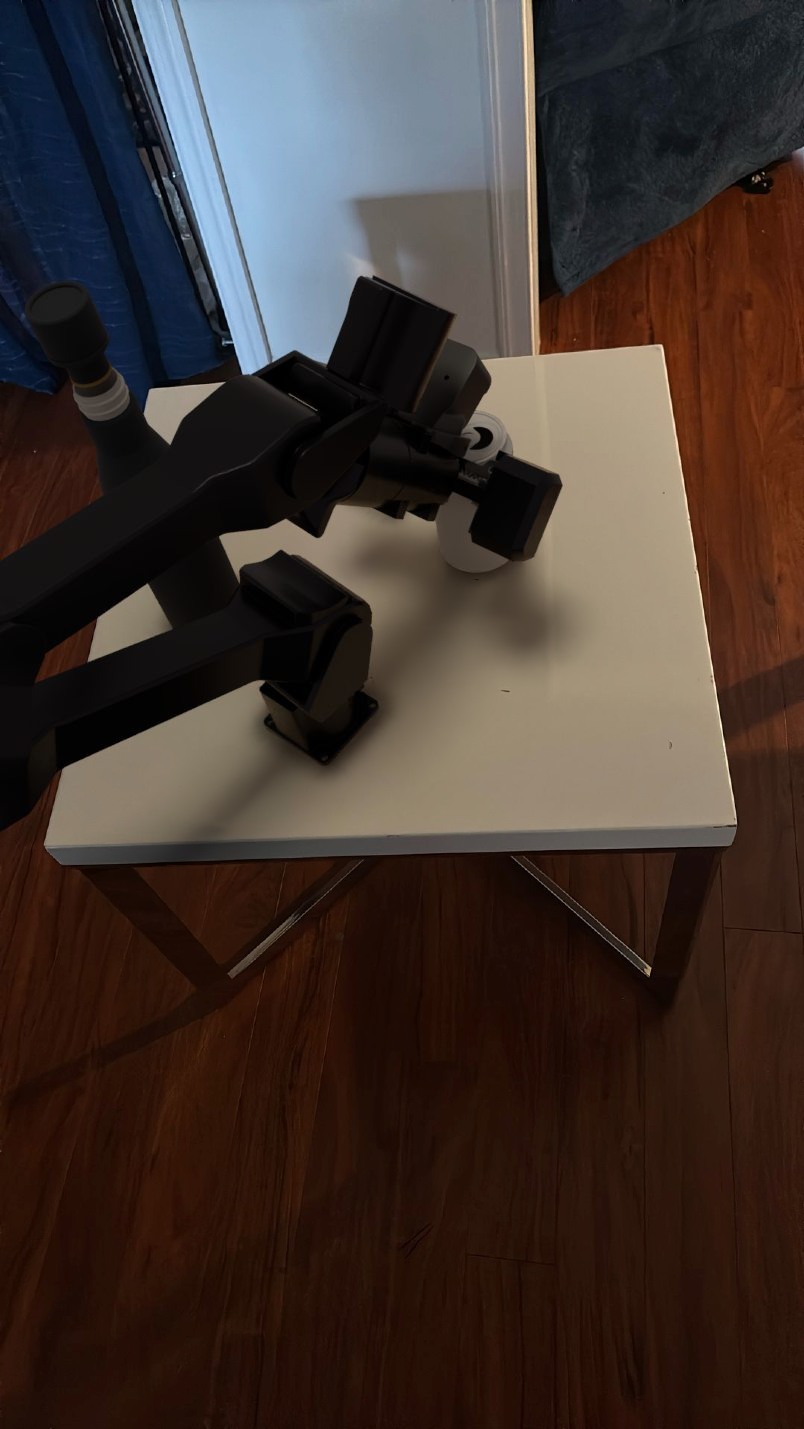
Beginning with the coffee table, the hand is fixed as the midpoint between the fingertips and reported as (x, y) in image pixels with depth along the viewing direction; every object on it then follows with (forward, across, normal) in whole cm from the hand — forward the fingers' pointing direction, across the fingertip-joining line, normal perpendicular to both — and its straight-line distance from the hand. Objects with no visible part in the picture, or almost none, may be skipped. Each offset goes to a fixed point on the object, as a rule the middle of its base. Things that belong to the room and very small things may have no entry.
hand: (483, 478), depth 79 cm
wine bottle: (-8, +15, +18) cm, 25 cm away
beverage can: (+4, 0, +6) cm, 7 cm away
